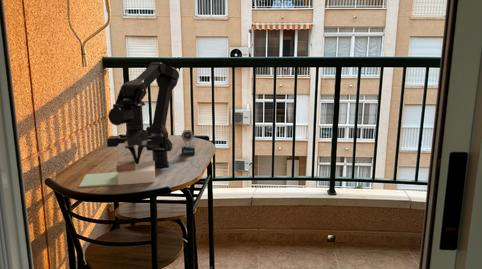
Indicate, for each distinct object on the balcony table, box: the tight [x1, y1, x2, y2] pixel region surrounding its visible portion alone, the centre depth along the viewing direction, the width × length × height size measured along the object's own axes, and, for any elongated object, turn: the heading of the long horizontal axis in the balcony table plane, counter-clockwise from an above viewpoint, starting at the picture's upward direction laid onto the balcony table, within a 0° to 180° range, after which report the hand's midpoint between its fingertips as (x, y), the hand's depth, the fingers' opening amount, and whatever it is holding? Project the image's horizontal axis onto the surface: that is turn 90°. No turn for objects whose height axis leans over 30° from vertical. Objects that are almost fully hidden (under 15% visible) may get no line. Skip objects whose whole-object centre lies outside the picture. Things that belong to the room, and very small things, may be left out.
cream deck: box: [117, 160, 156, 186], centre depth 142 cm, size 13×12×4 cm
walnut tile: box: [115, 157, 136, 172], centre depth 140 cm, size 9×6×2 cm, turn 13°
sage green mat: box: [78, 171, 118, 188], centre depth 140 cm, size 13×12×1 cm
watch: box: [181, 128, 196, 156], centre depth 172 cm, size 6×8×11 cm
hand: (137, 163), depth 141 cm, fingers closed
